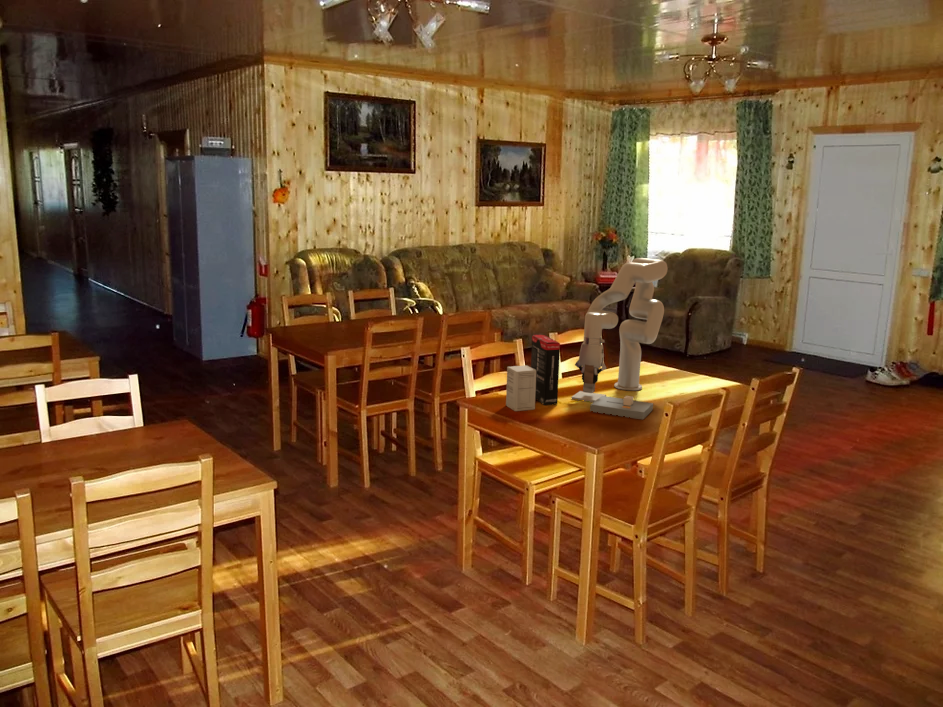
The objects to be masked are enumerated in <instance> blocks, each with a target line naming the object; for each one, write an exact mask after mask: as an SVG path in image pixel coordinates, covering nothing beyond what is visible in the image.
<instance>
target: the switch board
mask: <svg viewBox="0 0 943 707" xmlns="http://www.w3.org/2000/svg"><path fill="white" fill-rule="evenodd" d="M623 401H624V398H620V397H614V396H613V397H612V396H607V395H606V396H601V397H600V398H598V399H597V400H596V401H594V402H591V403H590V407H589V411H590V412H591V411H593V412H592V413H597V412H598V413H599V414H603V413H605V415H610V414H612V415H611V416H616V415H618V416H619V417H623V416H625V417H624V418H629V417H630V418H631V419H635V420H637V419H638V420H642V421H643V420H644V419H645V418H647V416H648V415H649V414H650V413H651V412H652V411H653V410H654V408H653V407H654V402H648V401H642V400H634V399H633V404H632V405H631V406H628V405H623Z"/></svg>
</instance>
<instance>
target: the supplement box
mask: <svg viewBox="0 0 943 707" xmlns="http://www.w3.org/2000/svg"><path fill="white" fill-rule="evenodd" d="M535 392H536V370H535V369H533V368H531V366H529V365H527V364H526V365H513V366H507V367H506V398H505V399H506V400H505V406H507V407H508V408H509V409H511V410H512V411H514V412H520V411H521V412H522V411H533V410H535V409H536V399H535Z"/></svg>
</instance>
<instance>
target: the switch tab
mask: <svg viewBox="0 0 943 707" xmlns="http://www.w3.org/2000/svg"><path fill="white" fill-rule="evenodd" d="M623 399H624V401H623V405H628V406H631V405H632V404H633V400H634V396H633V395H625V396H624V397H623Z"/></svg>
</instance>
